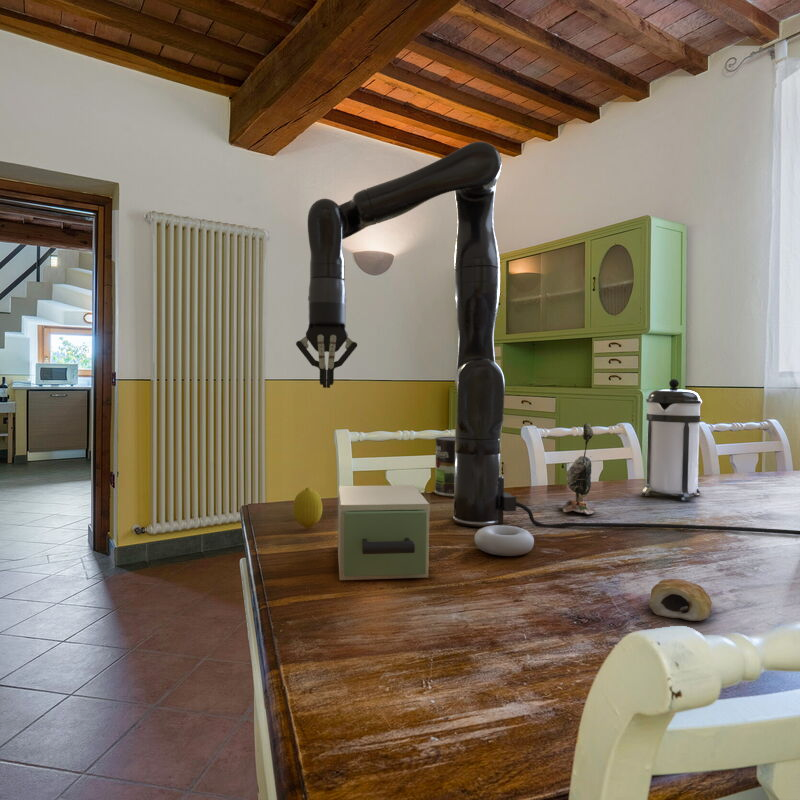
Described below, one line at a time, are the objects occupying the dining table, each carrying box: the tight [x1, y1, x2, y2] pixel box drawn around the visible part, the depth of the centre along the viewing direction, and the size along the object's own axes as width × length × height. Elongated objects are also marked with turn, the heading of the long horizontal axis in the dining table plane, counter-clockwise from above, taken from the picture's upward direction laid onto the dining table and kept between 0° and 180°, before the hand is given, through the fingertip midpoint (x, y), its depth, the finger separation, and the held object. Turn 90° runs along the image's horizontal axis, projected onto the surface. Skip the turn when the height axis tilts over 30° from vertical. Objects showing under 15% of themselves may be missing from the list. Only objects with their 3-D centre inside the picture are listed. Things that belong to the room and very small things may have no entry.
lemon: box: [292, 487, 323, 530], centre depth 108 cm, size 6×6×8 cm
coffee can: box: [434, 436, 455, 498], centre depth 146 cm, size 10×10×14 cm
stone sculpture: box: [558, 422, 596, 515], centre depth 127 cm, size 8×11×20 cm
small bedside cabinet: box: [337, 484, 430, 581], centre depth 89 cm, size 15×13×11 cm
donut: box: [473, 524, 535, 557], centre depth 96 cm, size 10×4×10 cm
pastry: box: [647, 578, 713, 622], centre depth 72 cm, size 9×7×4 cm
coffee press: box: [641, 378, 703, 503], centre depth 146 cm, size 17×16×30 cm
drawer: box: [344, 510, 427, 576], centre depth 85 cm, size 18×12×9 cm, turn 7°
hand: (326, 387), depth 116 cm, fingers closed
